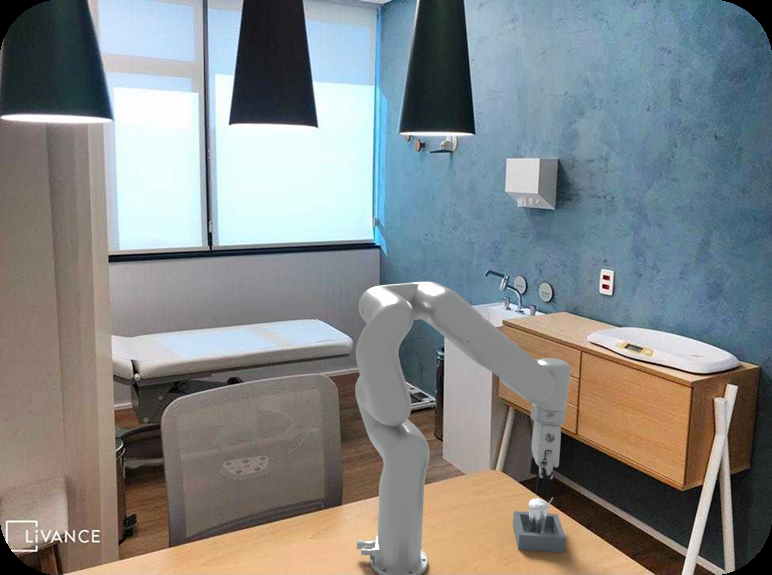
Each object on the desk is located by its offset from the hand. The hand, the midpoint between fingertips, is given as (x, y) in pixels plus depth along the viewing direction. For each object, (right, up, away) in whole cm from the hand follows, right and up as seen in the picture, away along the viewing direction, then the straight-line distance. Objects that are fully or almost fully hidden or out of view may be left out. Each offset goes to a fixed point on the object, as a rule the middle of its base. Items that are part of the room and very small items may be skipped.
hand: (539, 483), depth 151 cm
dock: (0, -14, +3) cm, 14 cm away
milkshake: (0, -13, +2) cm, 14 cm away
